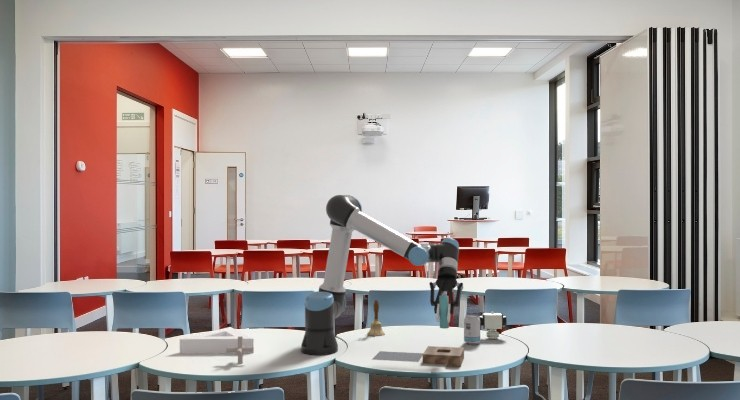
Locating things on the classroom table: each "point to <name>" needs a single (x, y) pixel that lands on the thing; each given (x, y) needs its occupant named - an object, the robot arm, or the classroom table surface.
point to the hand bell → (376, 323)
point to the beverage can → (472, 329)
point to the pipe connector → (240, 349)
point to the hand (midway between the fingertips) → (442, 320)
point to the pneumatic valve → (492, 323)
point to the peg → (444, 311)
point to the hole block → (444, 356)
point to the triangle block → (214, 341)
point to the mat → (398, 356)
